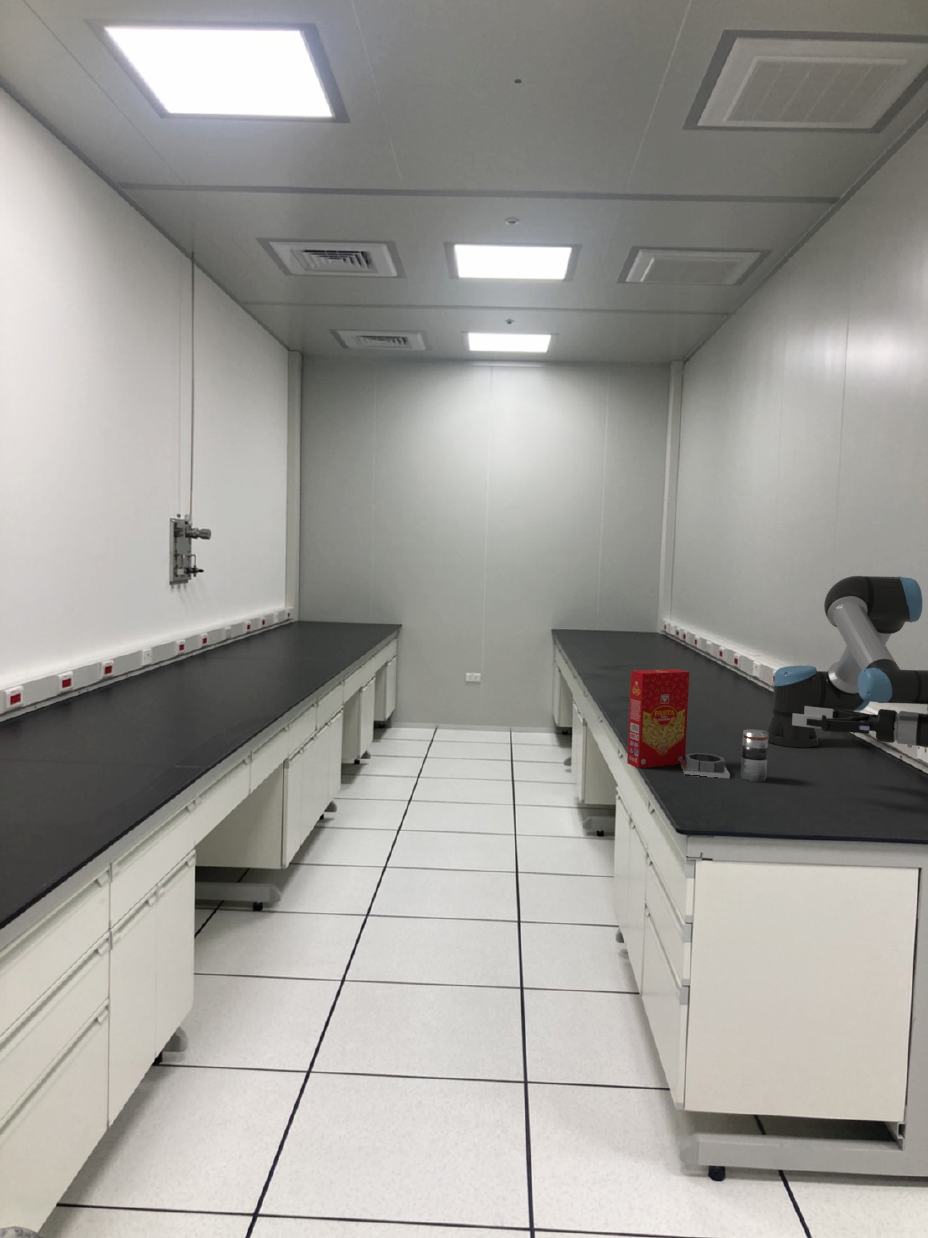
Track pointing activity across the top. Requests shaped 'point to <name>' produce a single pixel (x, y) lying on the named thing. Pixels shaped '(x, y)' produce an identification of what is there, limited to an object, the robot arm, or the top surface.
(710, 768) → the mount
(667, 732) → the food packaging
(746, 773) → the lens
